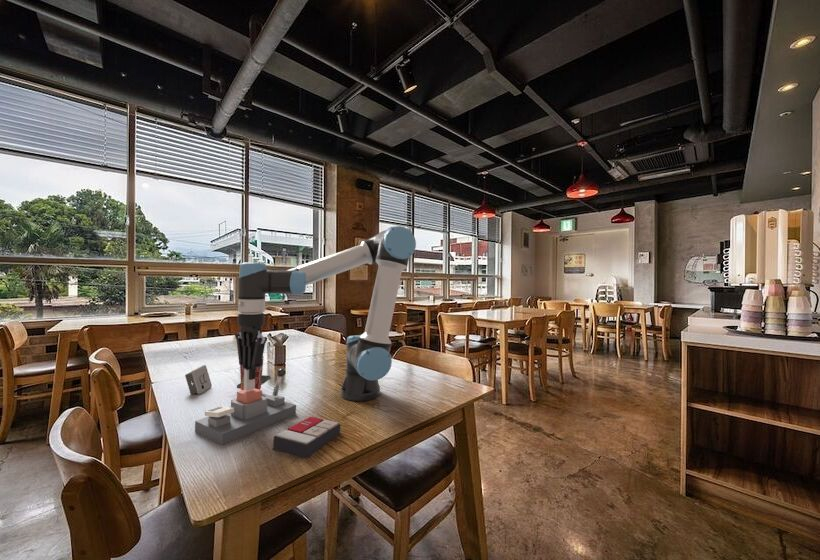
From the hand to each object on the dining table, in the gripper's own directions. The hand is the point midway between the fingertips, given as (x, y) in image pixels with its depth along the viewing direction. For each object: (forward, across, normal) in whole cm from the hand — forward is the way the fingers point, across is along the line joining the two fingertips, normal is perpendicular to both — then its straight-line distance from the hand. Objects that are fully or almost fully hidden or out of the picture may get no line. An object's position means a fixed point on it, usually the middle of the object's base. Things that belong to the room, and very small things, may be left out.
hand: (249, 389), depth 100 cm
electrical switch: (+11, -41, +6) cm, 43 cm away
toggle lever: (+5, 0, +9) cm, 10 cm away
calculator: (+11, +24, +2) cm, 26 cm away
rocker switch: (+5, 0, -9) cm, 10 cm away
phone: (+11, -33, +24) cm, 43 cm away
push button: (+5, 0, 0) cm, 5 cm away
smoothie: (+10, -23, +16) cm, 29 cm away
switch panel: (+10, 0, 0) cm, 10 cm away
